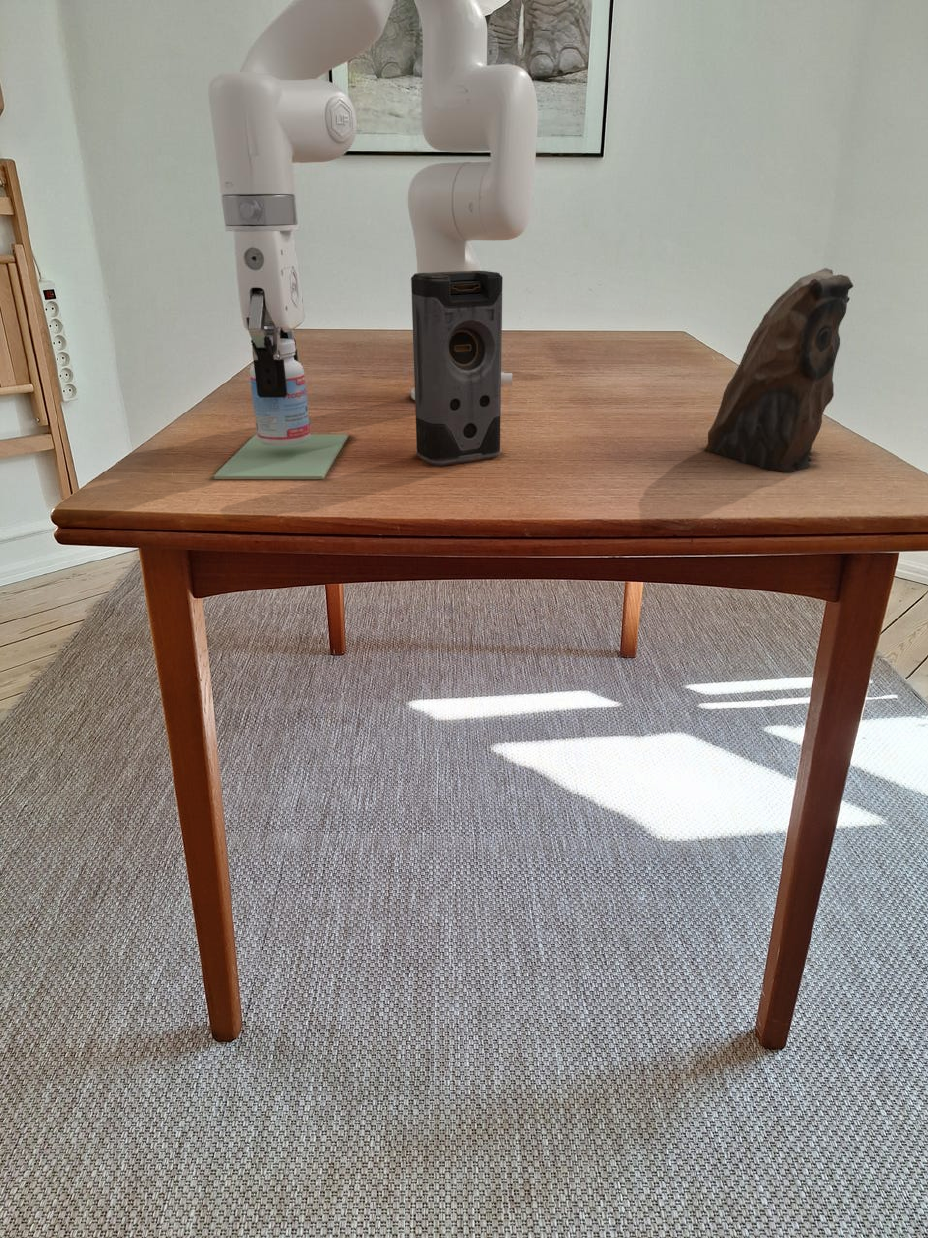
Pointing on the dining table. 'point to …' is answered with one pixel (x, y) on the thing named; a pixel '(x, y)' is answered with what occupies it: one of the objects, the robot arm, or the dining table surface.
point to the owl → (784, 378)
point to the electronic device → (457, 365)
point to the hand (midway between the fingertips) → (279, 388)
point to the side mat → (284, 459)
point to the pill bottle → (283, 405)
